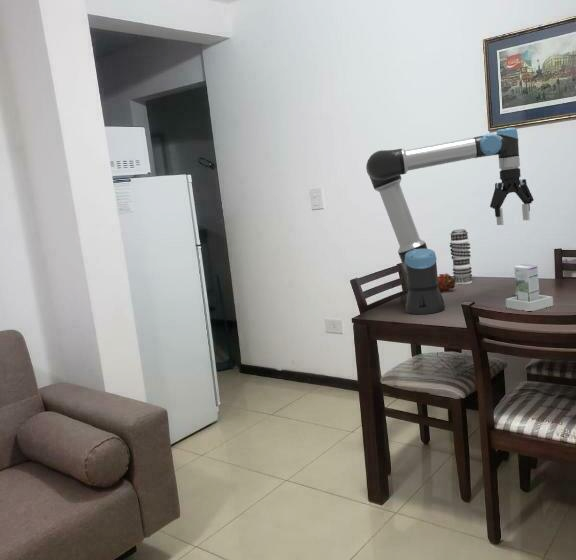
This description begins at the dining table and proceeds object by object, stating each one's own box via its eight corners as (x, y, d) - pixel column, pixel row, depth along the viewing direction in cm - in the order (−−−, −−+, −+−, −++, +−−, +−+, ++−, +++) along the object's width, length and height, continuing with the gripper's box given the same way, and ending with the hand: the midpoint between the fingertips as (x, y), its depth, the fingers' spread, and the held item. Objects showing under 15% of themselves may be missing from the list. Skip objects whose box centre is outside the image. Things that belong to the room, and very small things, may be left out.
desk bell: (526, 301, 210) (526, 292, 210) (507, 298, 220) (506, 290, 219) (546, 296, 214) (545, 288, 214) (526, 293, 223) (525, 285, 223)
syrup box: (540, 303, 201) (538, 264, 199) (530, 307, 198) (527, 267, 196) (527, 302, 206) (524, 263, 204) (516, 305, 203) (513, 266, 201)
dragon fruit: (456, 295, 244) (433, 298, 253) (462, 281, 248) (439, 284, 257) (446, 282, 240) (424, 285, 250) (453, 268, 245) (430, 271, 254)
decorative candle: (449, 284, 262) (444, 231, 259) (459, 280, 268) (455, 229, 265) (466, 285, 256) (462, 230, 252) (477, 281, 262) (472, 228, 258)
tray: (529, 311, 195) (529, 302, 194) (506, 307, 205) (505, 299, 204) (553, 305, 199) (552, 296, 198) (528, 301, 209) (528, 293, 208)
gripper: (526, 166, 226) (529, 218, 230) (477, 172, 217) (482, 227, 220) (541, 164, 219) (544, 218, 223) (491, 171, 210) (496, 227, 213)
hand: (513, 222), depth 221 cm, fingers open, 13 cm apart
